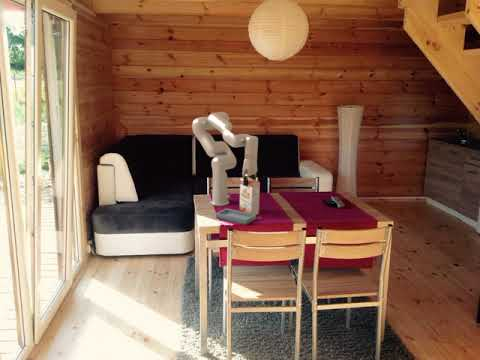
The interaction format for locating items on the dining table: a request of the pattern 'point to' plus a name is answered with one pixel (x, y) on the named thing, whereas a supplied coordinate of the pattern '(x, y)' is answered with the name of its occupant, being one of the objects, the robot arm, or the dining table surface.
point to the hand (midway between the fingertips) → (249, 184)
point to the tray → (236, 216)
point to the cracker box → (249, 196)
